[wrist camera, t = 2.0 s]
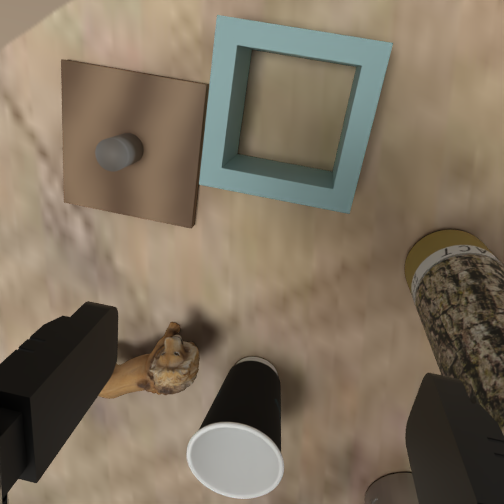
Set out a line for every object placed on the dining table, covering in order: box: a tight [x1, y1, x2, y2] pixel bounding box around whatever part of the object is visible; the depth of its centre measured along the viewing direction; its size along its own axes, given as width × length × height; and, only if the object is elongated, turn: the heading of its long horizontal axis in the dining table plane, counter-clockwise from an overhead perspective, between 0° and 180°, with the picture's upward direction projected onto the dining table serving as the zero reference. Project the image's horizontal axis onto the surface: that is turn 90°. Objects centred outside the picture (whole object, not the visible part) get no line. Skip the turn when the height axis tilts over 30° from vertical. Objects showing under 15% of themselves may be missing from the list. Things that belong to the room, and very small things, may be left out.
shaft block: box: [61, 60, 209, 228], centre depth 36 cm, size 12×12×4 cm
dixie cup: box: [187, 357, 284, 499], centre depth 40 cm, size 8×8×11 cm
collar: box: [199, 15, 393, 214], centre depth 32 cm, size 11×11×6 cm
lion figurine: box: [98, 322, 200, 399], centre depth 41 cm, size 15×5×9 cm, turn 120°
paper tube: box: [405, 230, 504, 435], centre depth 26 cm, size 7×7×25 cm
